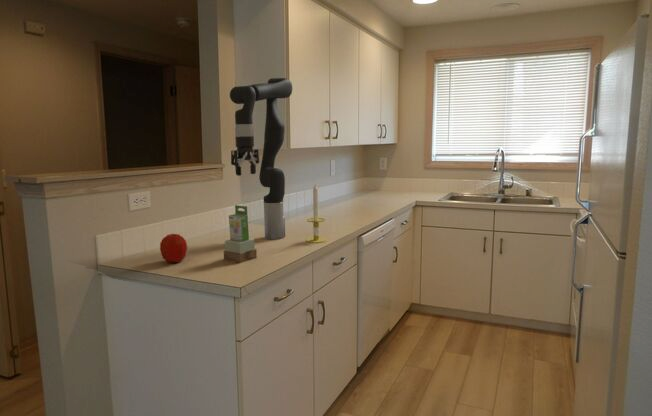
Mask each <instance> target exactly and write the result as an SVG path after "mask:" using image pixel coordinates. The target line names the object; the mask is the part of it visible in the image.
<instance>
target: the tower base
mask: <svg viewBox="0 0 652 416" xmlns="http://www.w3.org/2000/svg"><path fill="white" fill-rule="evenodd" d="M255 259H257V248H254V249H253V250H249V251H246V252H243V253H236V252H230V251H225V250H223V260H224V261H227V262H232V263H239V264H242V263H244V262H245V263H246V262H248V261H252V260H255Z"/></svg>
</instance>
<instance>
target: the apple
mask: <svg viewBox="0 0 652 416" xmlns="http://www.w3.org/2000/svg"><path fill="white" fill-rule="evenodd" d="M159 245H160V246H159V251H160V253H161V256H162V259H163V260H164V261H166V262H168V263H170V264H172V263H180V262H182V261H183V260H184V259H185V258H186V256H187V252H188V244H187V240H186V239H185V237H183V236H182V235H180V234H177V233H171V234H167V235H166V236H164V237H163V238H162V239H161V241H160V244H159Z"/></svg>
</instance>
